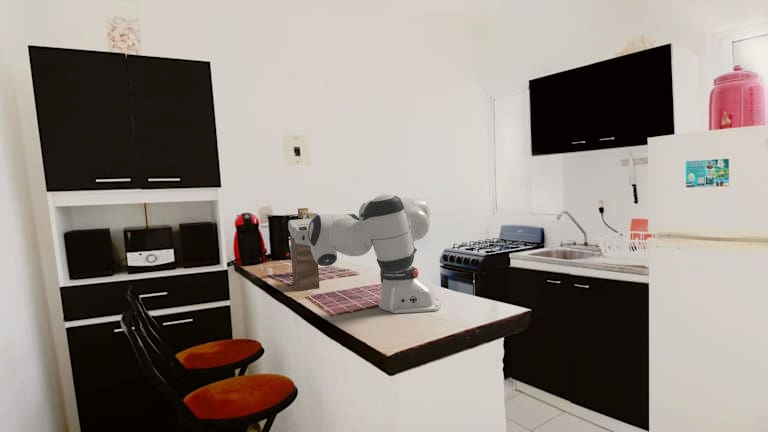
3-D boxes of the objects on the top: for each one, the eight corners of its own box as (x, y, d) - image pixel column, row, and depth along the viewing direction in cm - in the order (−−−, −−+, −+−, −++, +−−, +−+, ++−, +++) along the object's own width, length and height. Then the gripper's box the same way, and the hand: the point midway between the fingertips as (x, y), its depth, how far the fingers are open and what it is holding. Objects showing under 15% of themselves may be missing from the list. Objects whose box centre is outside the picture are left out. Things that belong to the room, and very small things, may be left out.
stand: (319, 288, 183) (316, 229, 181) (299, 291, 180) (295, 231, 178) (312, 281, 198) (308, 227, 196) (293, 283, 194) (289, 228, 193)
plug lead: (318, 220, 167) (317, 210, 167) (308, 220, 165) (307, 210, 165) (306, 216, 190) (306, 207, 190) (298, 217, 189) (297, 208, 189)
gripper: (345, 226, 161) (336, 207, 171) (291, 230, 154) (286, 210, 164) (343, 239, 164) (335, 219, 175) (291, 243, 157) (286, 223, 168)
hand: (311, 215), depth 170 cm, fingers closed on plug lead, 3 cm apart
